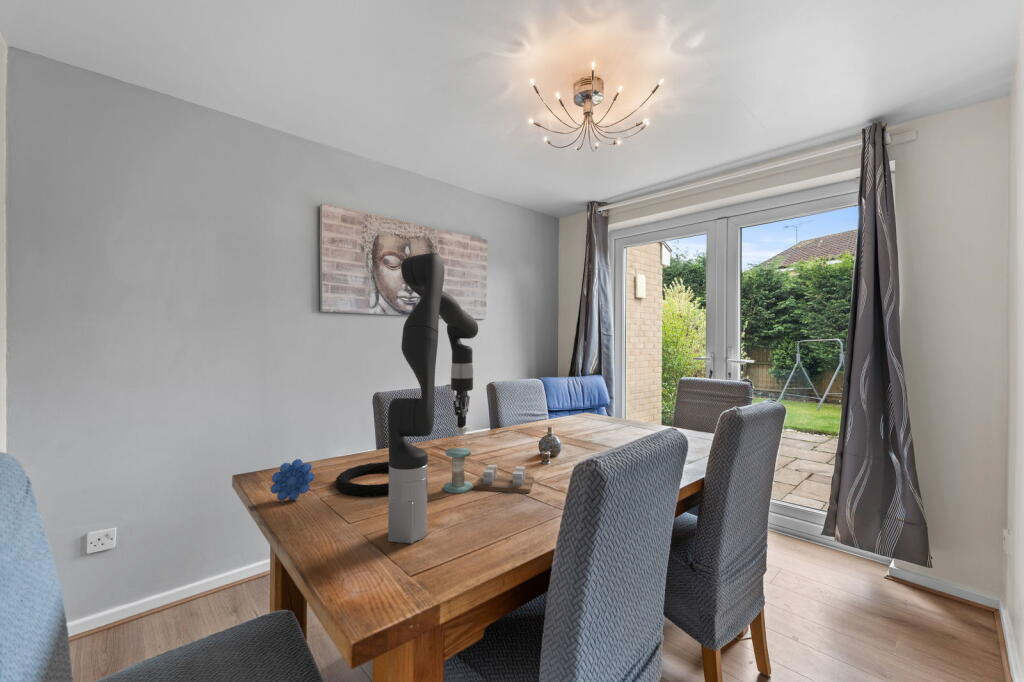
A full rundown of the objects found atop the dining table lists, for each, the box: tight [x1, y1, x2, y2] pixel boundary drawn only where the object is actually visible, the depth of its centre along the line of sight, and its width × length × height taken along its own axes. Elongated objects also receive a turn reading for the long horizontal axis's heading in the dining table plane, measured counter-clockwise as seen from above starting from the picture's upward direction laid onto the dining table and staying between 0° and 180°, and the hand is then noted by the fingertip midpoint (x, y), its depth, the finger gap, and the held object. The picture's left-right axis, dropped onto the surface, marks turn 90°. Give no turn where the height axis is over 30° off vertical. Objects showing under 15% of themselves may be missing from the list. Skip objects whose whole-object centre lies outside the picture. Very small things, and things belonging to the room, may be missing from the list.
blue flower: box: [270, 458, 315, 501], centre depth 130 cm, size 12×7×12 cm, turn 108°
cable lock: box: [334, 461, 389, 498], centre depth 147 cm, size 28×4×30 cm
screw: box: [453, 406, 469, 437], centre depth 151 cm, size 13×5×5 cm
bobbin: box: [443, 447, 473, 494], centre depth 141 cm, size 9×9×12 cm
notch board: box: [472, 464, 535, 494], centre depth 144 cm, size 12×18×5 cm, turn 81°
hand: (461, 426), depth 152 cm, fingers closed on screw, 2 cm apart
